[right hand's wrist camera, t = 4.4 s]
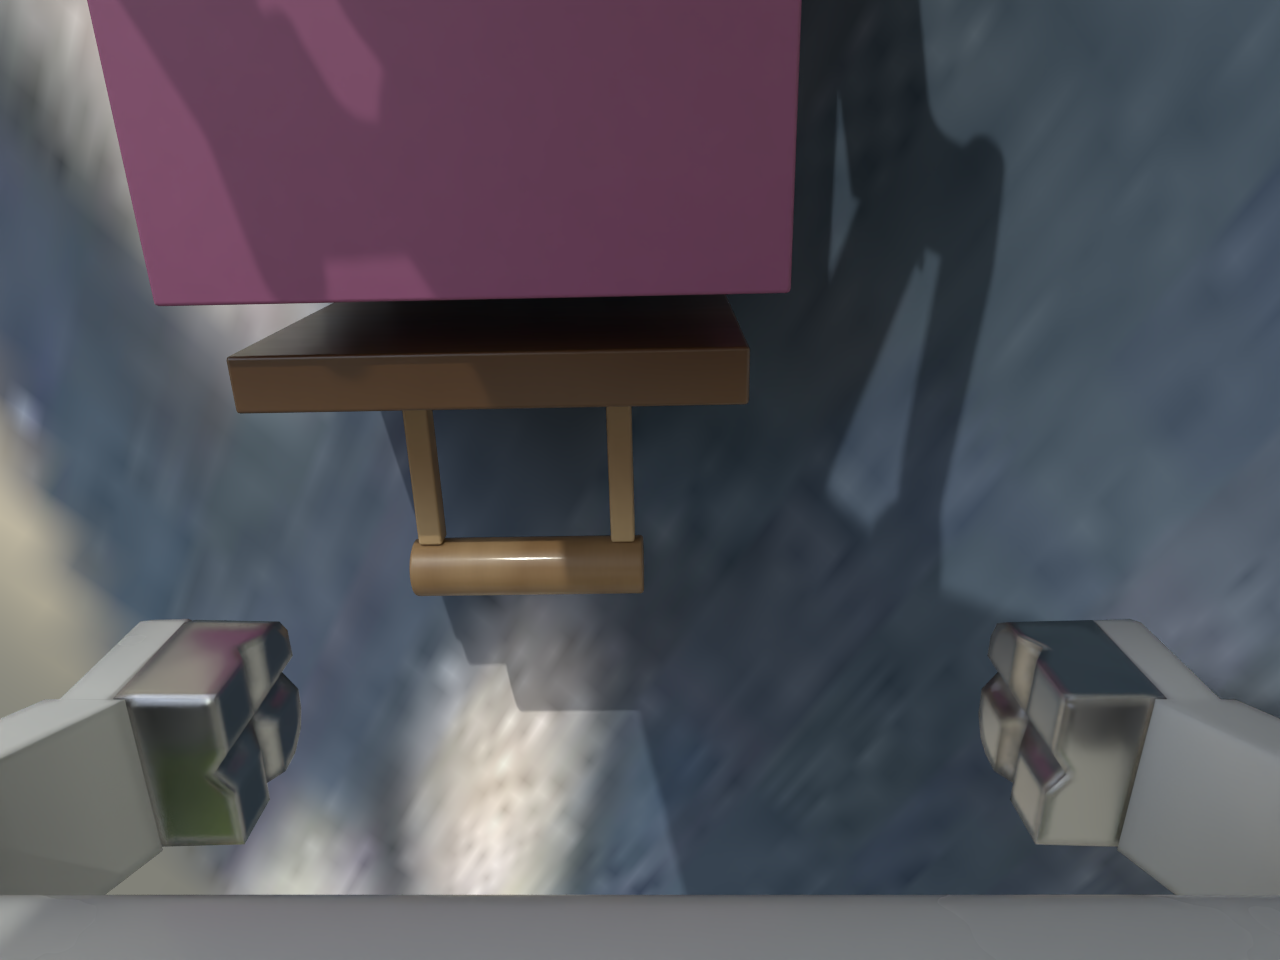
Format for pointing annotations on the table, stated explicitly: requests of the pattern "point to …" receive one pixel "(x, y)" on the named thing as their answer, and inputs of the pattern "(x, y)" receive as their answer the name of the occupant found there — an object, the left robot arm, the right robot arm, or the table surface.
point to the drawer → (505, 405)
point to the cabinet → (455, 146)
